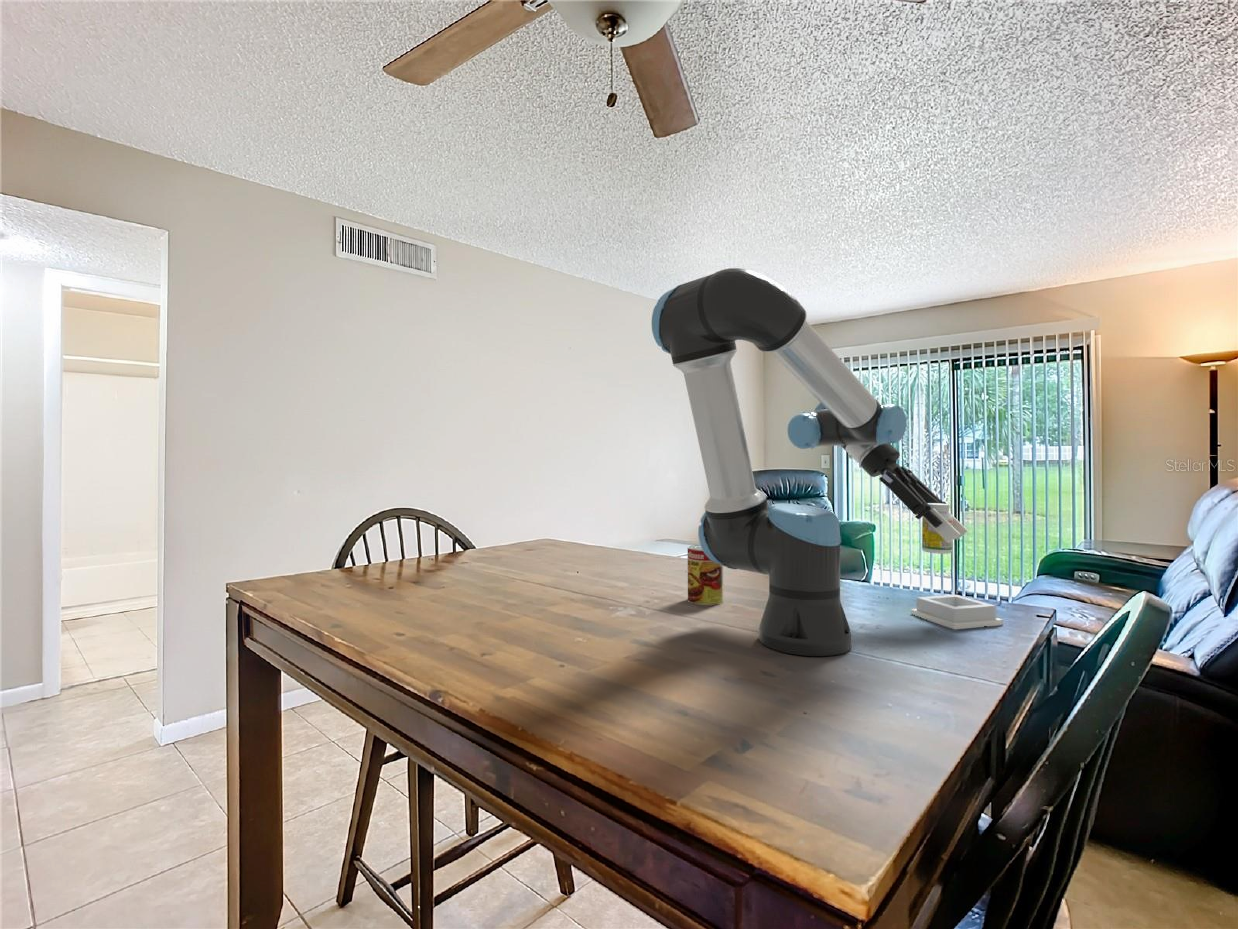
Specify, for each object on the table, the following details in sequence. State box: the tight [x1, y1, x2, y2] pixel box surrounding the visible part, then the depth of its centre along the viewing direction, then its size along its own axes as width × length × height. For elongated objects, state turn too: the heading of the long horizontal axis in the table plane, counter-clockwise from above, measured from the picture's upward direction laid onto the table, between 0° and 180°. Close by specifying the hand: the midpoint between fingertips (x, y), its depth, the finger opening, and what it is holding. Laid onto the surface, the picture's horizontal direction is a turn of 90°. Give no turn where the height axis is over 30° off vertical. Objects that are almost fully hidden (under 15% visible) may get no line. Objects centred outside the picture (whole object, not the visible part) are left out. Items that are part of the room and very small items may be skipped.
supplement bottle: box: [921, 503, 953, 555], centre depth 116 cm, size 5×5×10 cm
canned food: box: [687, 544, 724, 606], centre depth 130 cm, size 8×8×12 cm
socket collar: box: [910, 594, 1004, 630], centre depth 113 cm, size 11×11×4 cm
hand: (958, 536), depth 113 cm, fingers closed on supplement bottle, 5 cm apart
